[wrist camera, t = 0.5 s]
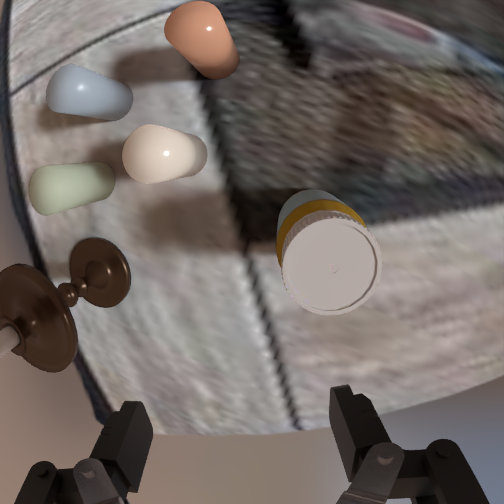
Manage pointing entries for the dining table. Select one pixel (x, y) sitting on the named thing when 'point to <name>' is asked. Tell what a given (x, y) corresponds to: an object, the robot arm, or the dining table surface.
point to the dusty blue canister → (87, 94)
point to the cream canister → (162, 154)
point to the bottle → (326, 253)
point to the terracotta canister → (203, 39)
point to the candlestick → (58, 303)
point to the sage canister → (70, 186)
